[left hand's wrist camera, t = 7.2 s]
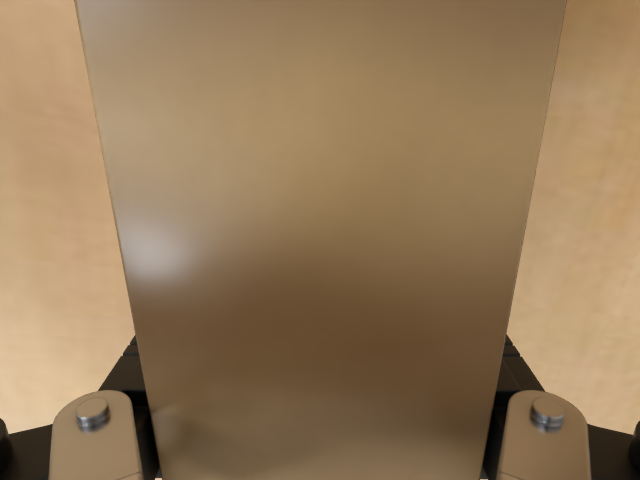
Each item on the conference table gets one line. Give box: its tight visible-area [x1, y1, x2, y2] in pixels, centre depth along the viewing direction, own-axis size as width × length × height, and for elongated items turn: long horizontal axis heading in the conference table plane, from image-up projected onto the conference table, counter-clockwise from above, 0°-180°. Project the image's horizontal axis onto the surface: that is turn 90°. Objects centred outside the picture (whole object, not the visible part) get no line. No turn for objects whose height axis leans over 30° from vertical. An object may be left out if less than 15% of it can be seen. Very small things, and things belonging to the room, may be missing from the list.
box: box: [74, 0, 567, 480], centre depth 10 cm, size 20×6×9 cm, turn 0°
